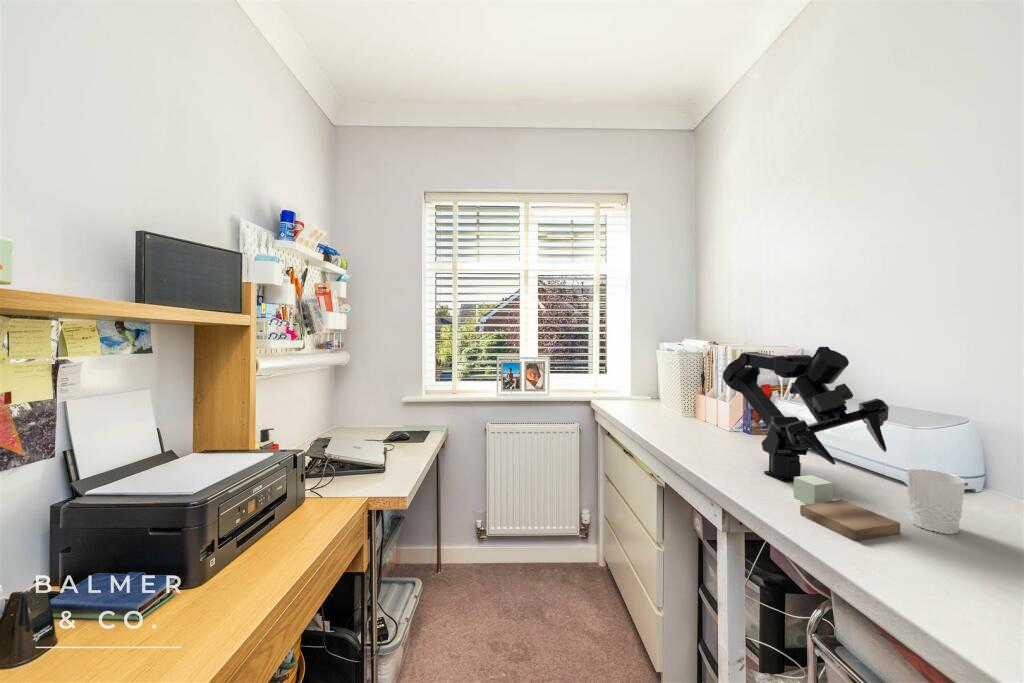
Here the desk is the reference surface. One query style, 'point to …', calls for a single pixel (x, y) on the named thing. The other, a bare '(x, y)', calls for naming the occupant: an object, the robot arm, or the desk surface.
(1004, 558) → the desk surface
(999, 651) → the desk surface
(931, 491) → the white cup
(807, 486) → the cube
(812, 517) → the base slab
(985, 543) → the desk surface
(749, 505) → the desk surface
